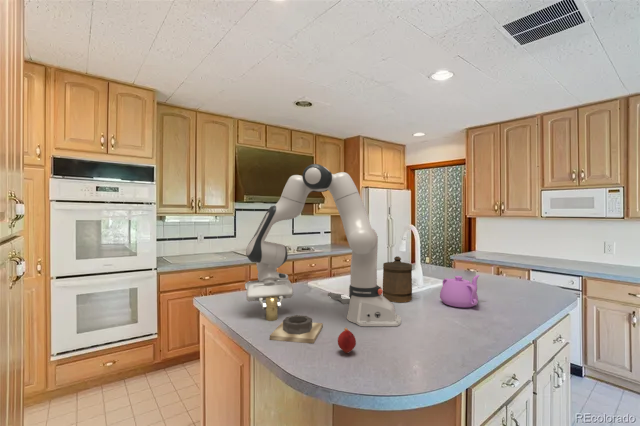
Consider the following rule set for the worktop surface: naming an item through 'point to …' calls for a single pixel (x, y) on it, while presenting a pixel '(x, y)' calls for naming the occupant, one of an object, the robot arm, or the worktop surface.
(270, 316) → the brass cylinder peg
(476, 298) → the teapot
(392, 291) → the wooden container
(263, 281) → the robot arm
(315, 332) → the jig board
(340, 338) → the onion
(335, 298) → the cloth
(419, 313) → the worktop surface
